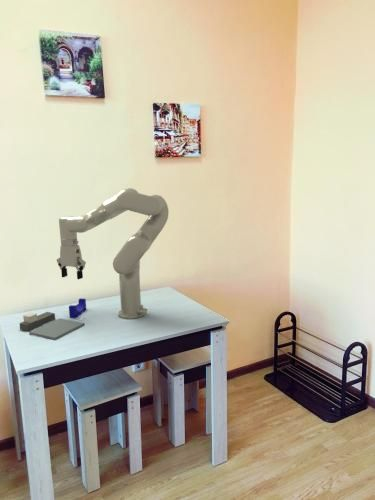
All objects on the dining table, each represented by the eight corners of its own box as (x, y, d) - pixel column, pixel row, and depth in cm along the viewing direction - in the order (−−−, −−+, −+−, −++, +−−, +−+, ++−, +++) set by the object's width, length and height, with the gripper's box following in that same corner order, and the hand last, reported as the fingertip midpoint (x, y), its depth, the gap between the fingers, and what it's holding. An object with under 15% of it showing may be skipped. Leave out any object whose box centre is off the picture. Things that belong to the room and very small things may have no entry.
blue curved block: (78, 309, 209) (77, 298, 207) (86, 310, 208) (85, 298, 207) (66, 318, 197) (65, 306, 196) (75, 318, 196) (74, 306, 195)
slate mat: (84, 325, 187) (84, 323, 187) (55, 340, 172) (54, 337, 171) (60, 320, 194) (59, 318, 194) (29, 334, 179) (29, 332, 178)
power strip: (55, 319, 195) (54, 307, 194) (28, 331, 182) (26, 318, 180) (47, 317, 198) (46, 305, 197) (20, 329, 184) (18, 316, 183)
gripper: (88, 242, 195) (91, 277, 198) (61, 240, 203) (64, 274, 206) (77, 245, 188) (80, 281, 192) (49, 242, 196) (53, 277, 199)
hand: (72, 277), depth 199 cm, fingers open, 9 cm apart
